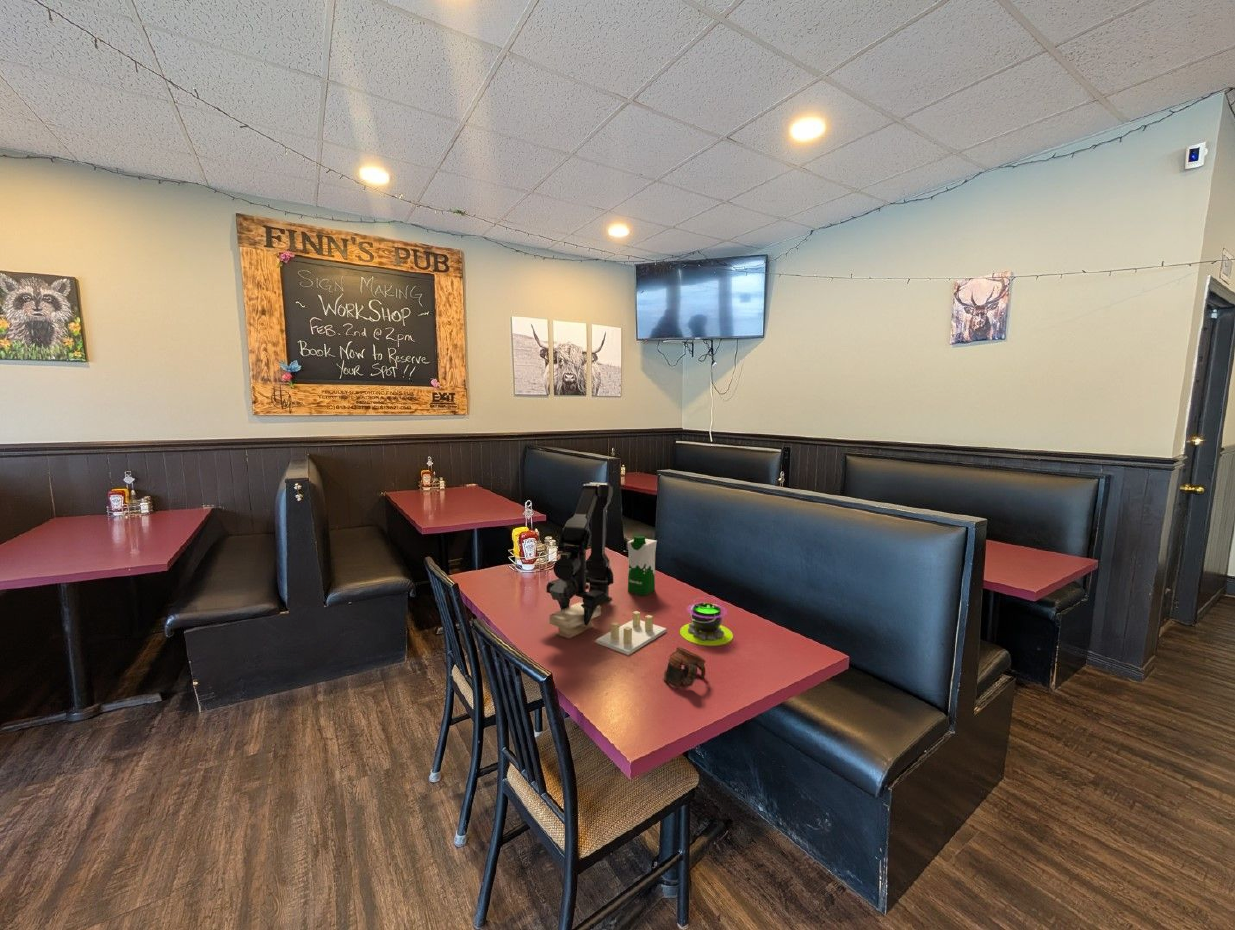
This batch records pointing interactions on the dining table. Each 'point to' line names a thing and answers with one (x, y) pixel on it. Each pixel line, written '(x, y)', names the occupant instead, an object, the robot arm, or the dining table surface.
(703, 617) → the toy cauldron
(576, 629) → the block
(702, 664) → the pottery mug
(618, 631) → the peg frame
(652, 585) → the milk carton
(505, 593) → the dining table surface
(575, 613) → the board
